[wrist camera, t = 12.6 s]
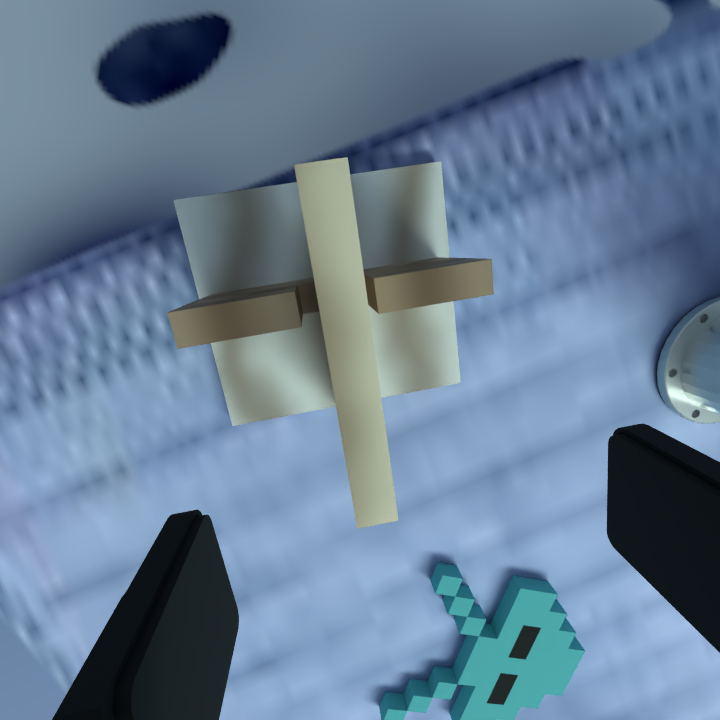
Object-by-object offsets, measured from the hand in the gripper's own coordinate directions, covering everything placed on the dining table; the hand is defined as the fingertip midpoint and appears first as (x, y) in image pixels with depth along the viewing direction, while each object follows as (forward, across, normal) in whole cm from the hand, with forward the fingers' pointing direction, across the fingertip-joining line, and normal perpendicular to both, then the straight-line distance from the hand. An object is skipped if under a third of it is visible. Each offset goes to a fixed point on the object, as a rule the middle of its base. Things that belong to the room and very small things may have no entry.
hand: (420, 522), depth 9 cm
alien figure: (+27, -10, +39) cm, 49 cm away
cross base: (+26, +1, -2) cm, 26 cm away
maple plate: (+24, +1, -2) cm, 25 cm away
